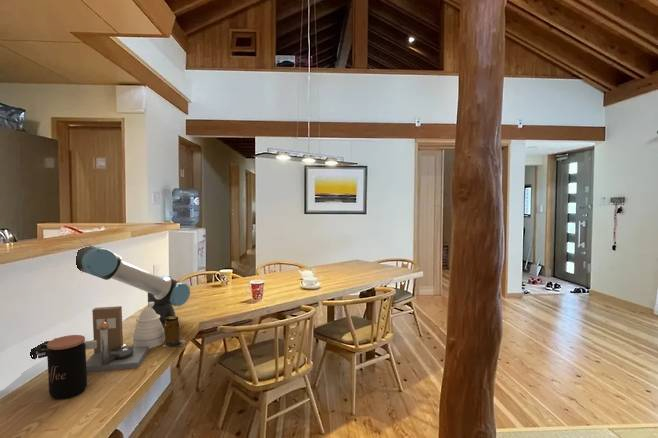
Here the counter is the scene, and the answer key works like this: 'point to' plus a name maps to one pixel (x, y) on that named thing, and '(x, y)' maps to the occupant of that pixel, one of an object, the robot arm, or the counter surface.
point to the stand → (112, 341)
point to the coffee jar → (67, 366)
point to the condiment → (172, 332)
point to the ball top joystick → (116, 352)
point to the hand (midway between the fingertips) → (96, 344)
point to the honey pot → (148, 329)
